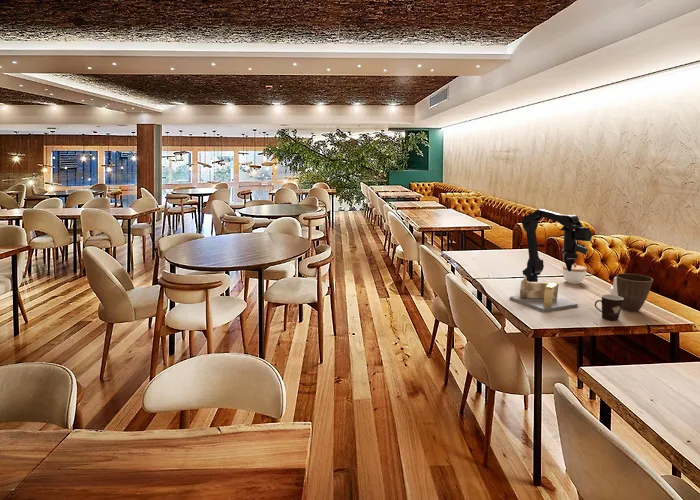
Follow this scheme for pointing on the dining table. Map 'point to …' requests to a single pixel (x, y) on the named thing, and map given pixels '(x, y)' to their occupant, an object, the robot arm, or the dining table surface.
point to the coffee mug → (610, 307)
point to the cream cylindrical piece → (614, 288)
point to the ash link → (535, 289)
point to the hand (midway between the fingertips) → (568, 269)
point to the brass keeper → (549, 294)
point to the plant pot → (633, 290)
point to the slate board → (539, 302)
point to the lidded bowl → (574, 274)
